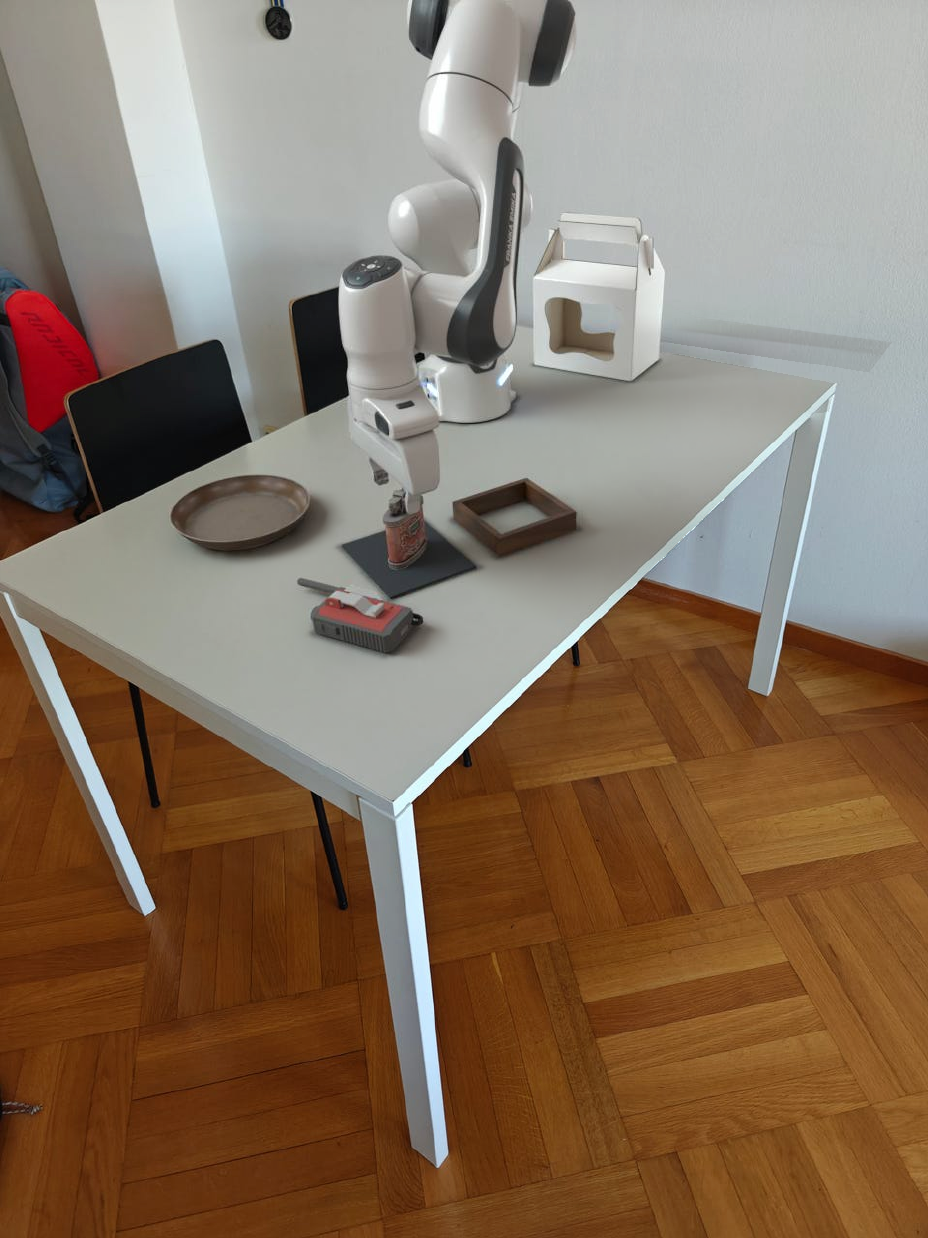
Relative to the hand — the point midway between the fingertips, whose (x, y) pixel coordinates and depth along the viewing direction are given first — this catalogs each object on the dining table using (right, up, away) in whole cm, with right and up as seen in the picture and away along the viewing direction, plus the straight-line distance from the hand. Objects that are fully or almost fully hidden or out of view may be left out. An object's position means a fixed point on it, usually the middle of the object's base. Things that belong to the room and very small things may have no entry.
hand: (396, 496), depth 118 cm
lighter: (+1, -8, +5) cm, 9 cm away
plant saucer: (-24, -2, +16) cm, 29 cm away
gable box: (+36, +36, +62) cm, 80 cm away
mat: (+1, -8, +5) cm, 9 cm away
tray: (+16, -3, +11) cm, 20 cm away
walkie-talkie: (-6, -17, -6) cm, 19 cm away
